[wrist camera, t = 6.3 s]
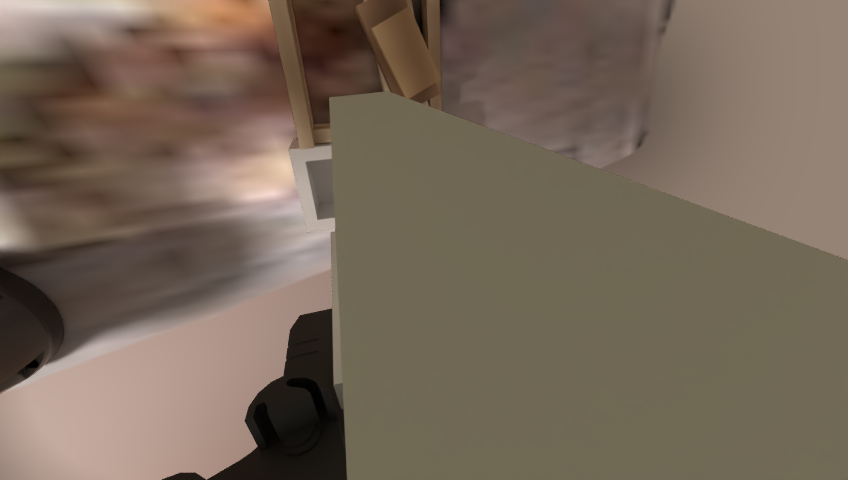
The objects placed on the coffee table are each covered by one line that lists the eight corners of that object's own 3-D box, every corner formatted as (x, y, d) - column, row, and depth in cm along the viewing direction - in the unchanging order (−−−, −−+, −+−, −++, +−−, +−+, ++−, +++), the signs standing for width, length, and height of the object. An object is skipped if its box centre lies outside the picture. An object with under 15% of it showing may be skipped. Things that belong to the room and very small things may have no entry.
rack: (304, 137, 34) (300, 149, 29) (269, -37, 28) (255, -61, 23) (437, 125, 37) (454, 134, 32) (432, -36, 31) (453, -57, 25)
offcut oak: (403, 98, 31) (406, 99, 30) (369, 30, 28) (371, 28, 27) (436, 79, 31) (440, 79, 30) (405, 8, 28) (409, 5, 27)
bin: (309, 214, 38) (307, 232, 34) (293, 139, 34) (288, 149, 30) (431, 197, 41) (444, 213, 36) (429, 127, 37) (442, 134, 33)
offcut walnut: (398, 110, 34) (402, 113, 32) (354, 9, 29) (355, 5, 27) (434, 92, 34) (440, 94, 32) (395, -11, 29) (400, -16, 27)
